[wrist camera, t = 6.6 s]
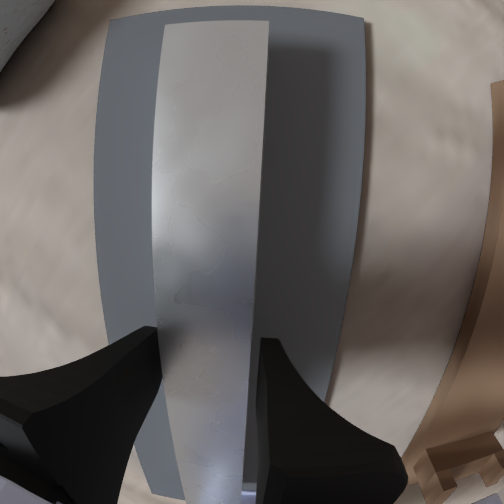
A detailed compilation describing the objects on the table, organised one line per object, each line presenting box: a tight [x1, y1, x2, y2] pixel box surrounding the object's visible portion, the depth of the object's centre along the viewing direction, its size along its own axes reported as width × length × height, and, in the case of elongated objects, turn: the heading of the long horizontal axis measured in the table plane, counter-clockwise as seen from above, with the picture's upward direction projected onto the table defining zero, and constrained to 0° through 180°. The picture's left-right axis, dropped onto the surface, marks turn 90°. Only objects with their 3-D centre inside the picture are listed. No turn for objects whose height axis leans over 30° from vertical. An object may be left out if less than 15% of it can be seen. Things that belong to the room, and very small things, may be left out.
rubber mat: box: [94, 6, 366, 500], centre depth 13 cm, size 28×10×1 cm, turn 177°
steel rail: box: [152, 20, 269, 504], centre depth 11 cm, size 22×3×2 cm, turn 177°
